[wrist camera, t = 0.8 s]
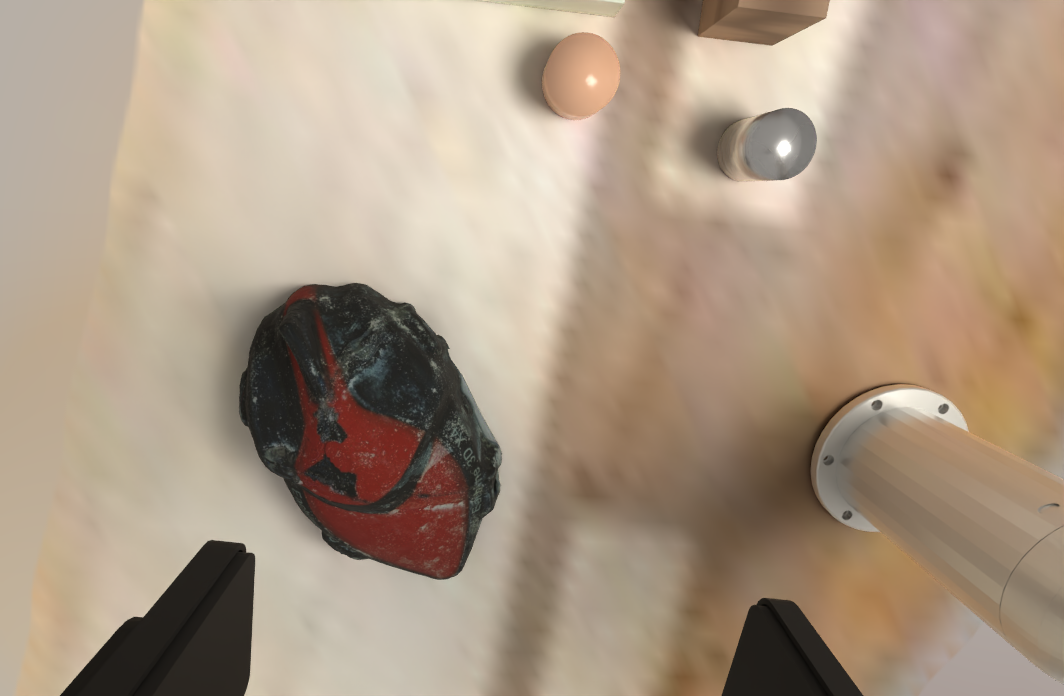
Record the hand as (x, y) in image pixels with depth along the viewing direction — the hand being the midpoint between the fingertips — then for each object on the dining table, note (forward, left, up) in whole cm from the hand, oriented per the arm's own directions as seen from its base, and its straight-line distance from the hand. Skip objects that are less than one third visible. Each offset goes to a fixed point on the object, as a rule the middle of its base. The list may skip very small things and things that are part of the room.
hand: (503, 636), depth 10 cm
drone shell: (+8, +10, -31) cm, 33 cm away
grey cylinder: (-16, -12, -30) cm, 36 cm away
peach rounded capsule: (-4, -15, -30) cm, 34 cm away
